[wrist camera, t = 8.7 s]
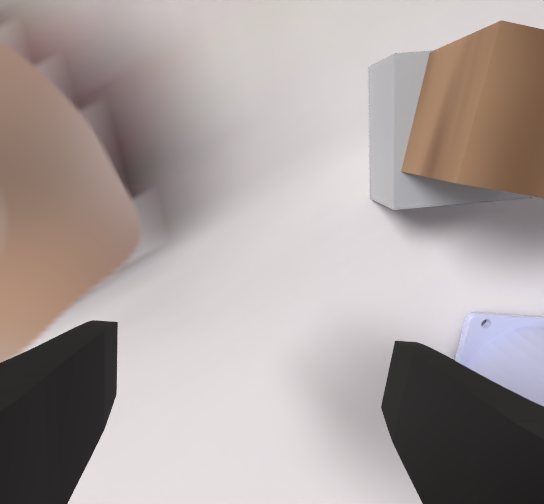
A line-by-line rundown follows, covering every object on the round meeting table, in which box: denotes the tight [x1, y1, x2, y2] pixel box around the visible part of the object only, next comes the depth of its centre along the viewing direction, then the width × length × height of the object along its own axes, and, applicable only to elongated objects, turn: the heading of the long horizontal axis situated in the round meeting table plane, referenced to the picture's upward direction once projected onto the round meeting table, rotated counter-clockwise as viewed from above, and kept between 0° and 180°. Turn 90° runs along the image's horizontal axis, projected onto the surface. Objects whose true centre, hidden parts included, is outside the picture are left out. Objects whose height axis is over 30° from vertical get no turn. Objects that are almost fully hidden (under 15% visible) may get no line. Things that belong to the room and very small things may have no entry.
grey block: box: [368, 51, 532, 210], centre depth 18 cm, size 6×6×4 cm
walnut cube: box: [401, 21, 544, 198], centre depth 14 cm, size 4×4×4 cm
